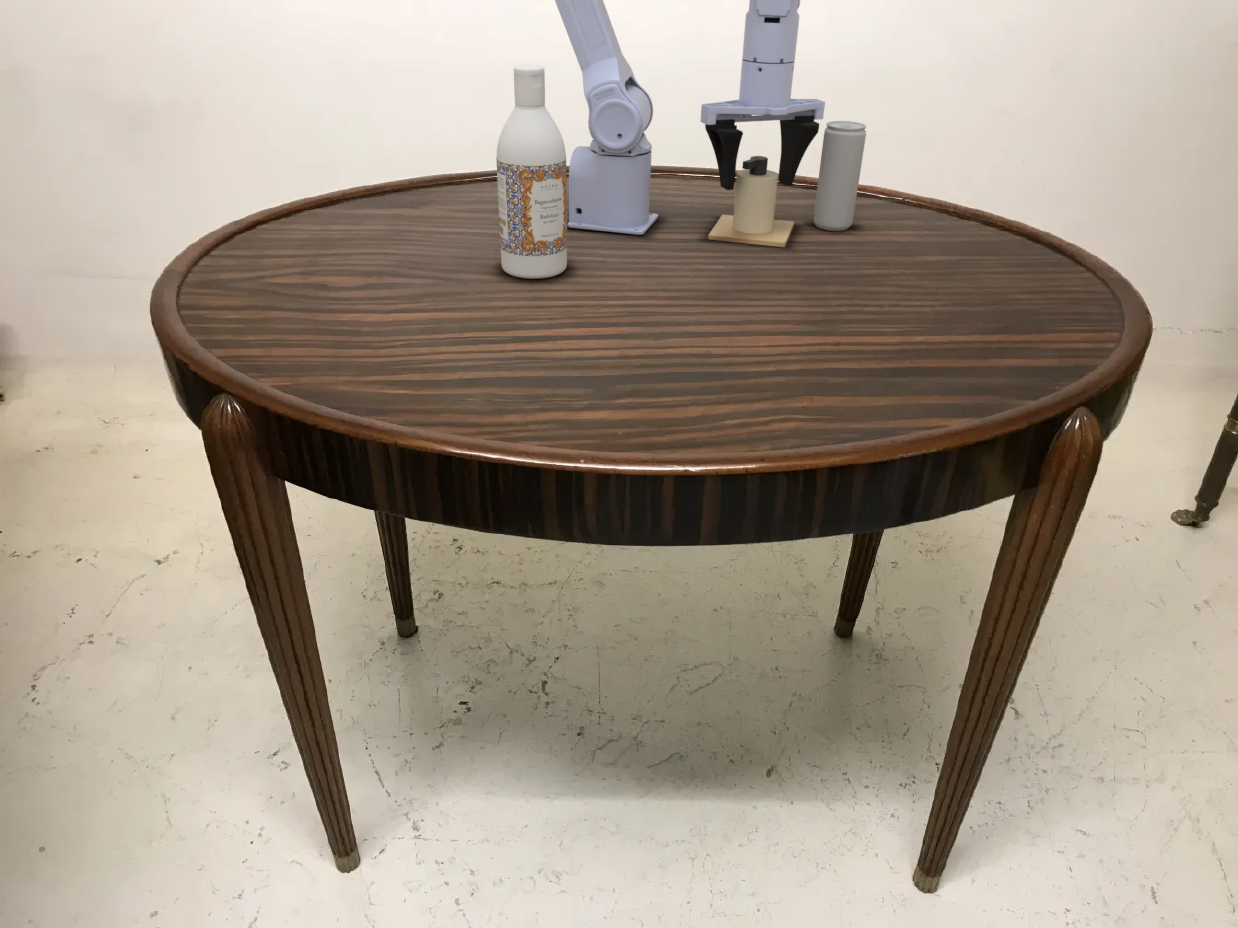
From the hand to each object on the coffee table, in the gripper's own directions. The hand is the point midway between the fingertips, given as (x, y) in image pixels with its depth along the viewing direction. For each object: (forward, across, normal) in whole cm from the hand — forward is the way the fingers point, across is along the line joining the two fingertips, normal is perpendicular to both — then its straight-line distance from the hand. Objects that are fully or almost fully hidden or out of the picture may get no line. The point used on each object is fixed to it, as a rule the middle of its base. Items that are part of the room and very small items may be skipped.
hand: (756, 186), depth 109 cm
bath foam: (+6, -28, -6) cm, 30 cm away
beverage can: (+6, +11, 0) cm, 12 cm away
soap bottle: (+5, 0, 0) cm, 5 cm away
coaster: (+6, 0, 0) cm, 6 cm away
